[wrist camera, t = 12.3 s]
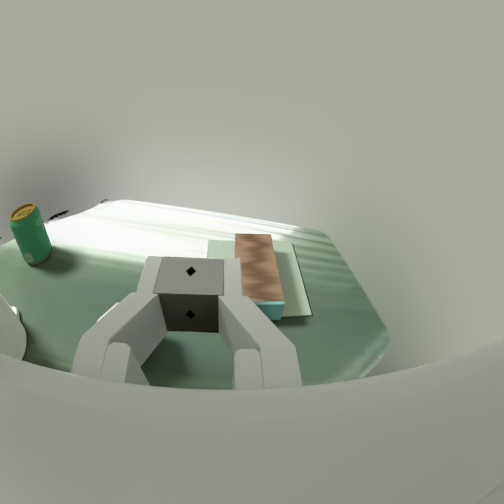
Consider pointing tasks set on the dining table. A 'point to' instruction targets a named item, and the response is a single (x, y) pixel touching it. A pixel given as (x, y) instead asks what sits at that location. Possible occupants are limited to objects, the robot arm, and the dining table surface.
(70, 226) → the dining table surface
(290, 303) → the green mat
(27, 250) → the beverage can
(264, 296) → the walnut block
